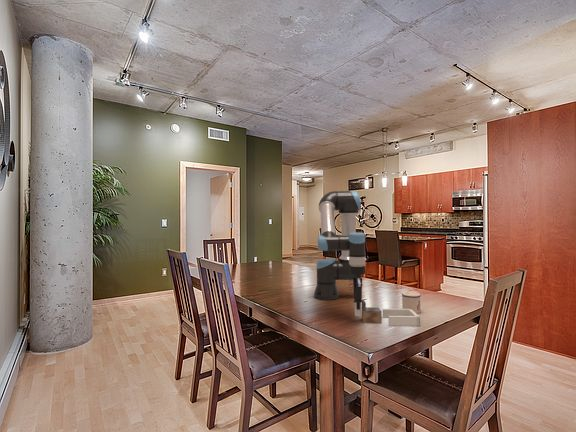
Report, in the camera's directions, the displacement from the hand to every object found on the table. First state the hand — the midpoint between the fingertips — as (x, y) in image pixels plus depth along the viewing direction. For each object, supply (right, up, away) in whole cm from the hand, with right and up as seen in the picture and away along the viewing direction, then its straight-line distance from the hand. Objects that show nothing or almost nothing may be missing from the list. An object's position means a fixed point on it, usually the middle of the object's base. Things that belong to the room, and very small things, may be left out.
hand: (357, 315), depth 146 cm
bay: (+19, -2, -1) cm, 19 cm away
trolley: (+6, -3, 0) cm, 7 cm away
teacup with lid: (+31, -2, +15) cm, 35 cm away
